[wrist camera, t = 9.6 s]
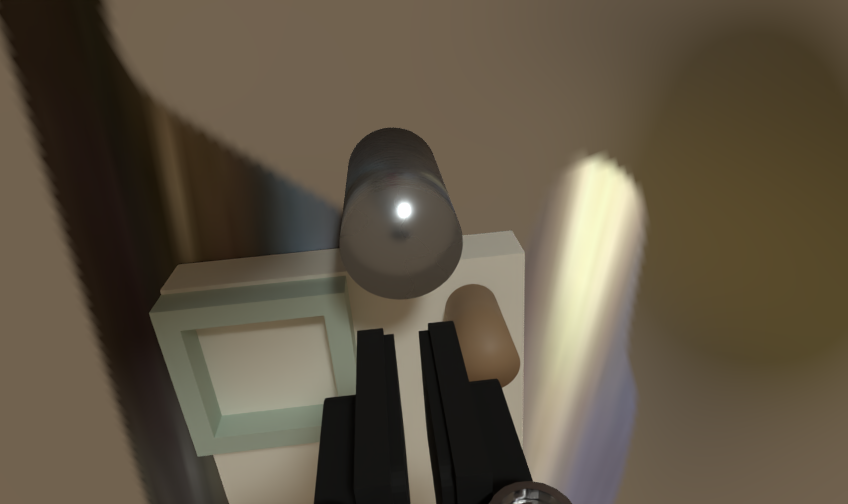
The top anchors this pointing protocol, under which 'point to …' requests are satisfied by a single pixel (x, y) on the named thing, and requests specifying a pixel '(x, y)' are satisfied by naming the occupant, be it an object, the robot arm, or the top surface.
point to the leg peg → (398, 217)
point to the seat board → (322, 355)
